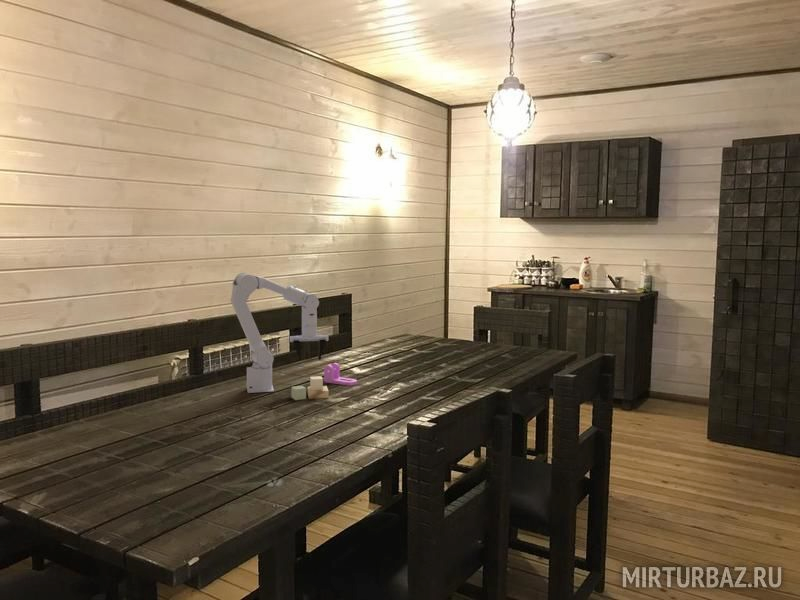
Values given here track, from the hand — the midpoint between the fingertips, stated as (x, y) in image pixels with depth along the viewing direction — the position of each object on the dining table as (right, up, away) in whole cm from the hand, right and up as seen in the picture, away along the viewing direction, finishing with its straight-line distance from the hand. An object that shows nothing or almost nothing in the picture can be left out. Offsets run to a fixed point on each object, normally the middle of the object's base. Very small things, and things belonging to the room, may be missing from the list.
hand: (309, 359), depth 245 cm
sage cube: (-1, -12, -18) cm, 21 cm away
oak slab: (+5, -12, -14) cm, 19 cm away
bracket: (+12, -10, +6) cm, 16 cm away
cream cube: (+5, -9, -14) cm, 17 cm away
